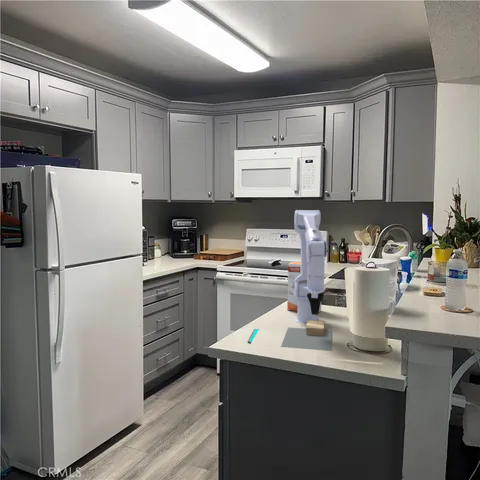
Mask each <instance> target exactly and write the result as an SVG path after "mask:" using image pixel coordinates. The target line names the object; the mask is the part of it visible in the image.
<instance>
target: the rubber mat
mask: <svg viewBox="0 0 480 480" xmlns="http://www.w3.org/2000/svg"><path fill="white" fill-rule="evenodd" d="M280 347H281V348H291V349H292V348H293V349H304V350H305V349H306V350H317V351H330V352H332V351H333V330H331V329H324V335H323V336H320V335H306V328H303V327H302V328H301V327H287V330H286V332H285V335H284V338H283V341H282V343H281V345H280Z"/></svg>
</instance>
